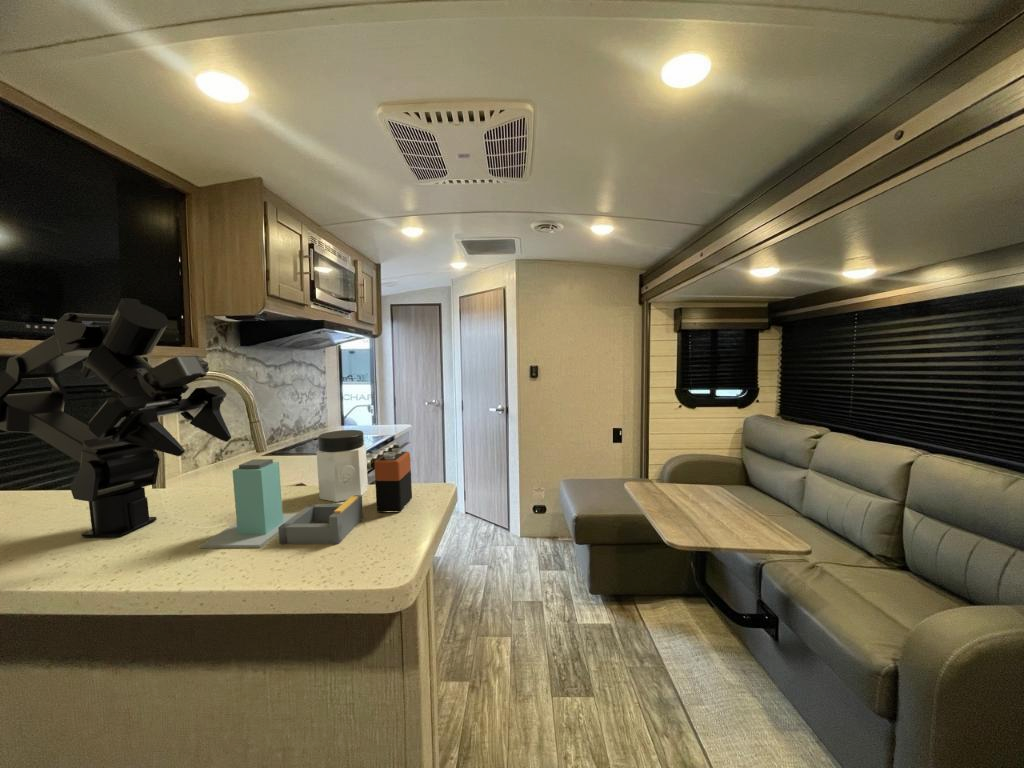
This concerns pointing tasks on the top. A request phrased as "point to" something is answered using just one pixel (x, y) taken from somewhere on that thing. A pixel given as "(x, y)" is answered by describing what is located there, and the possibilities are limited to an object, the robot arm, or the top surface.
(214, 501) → the top surface
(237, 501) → the plug
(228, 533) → the mat
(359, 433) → the jar
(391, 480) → the battery
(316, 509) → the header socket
